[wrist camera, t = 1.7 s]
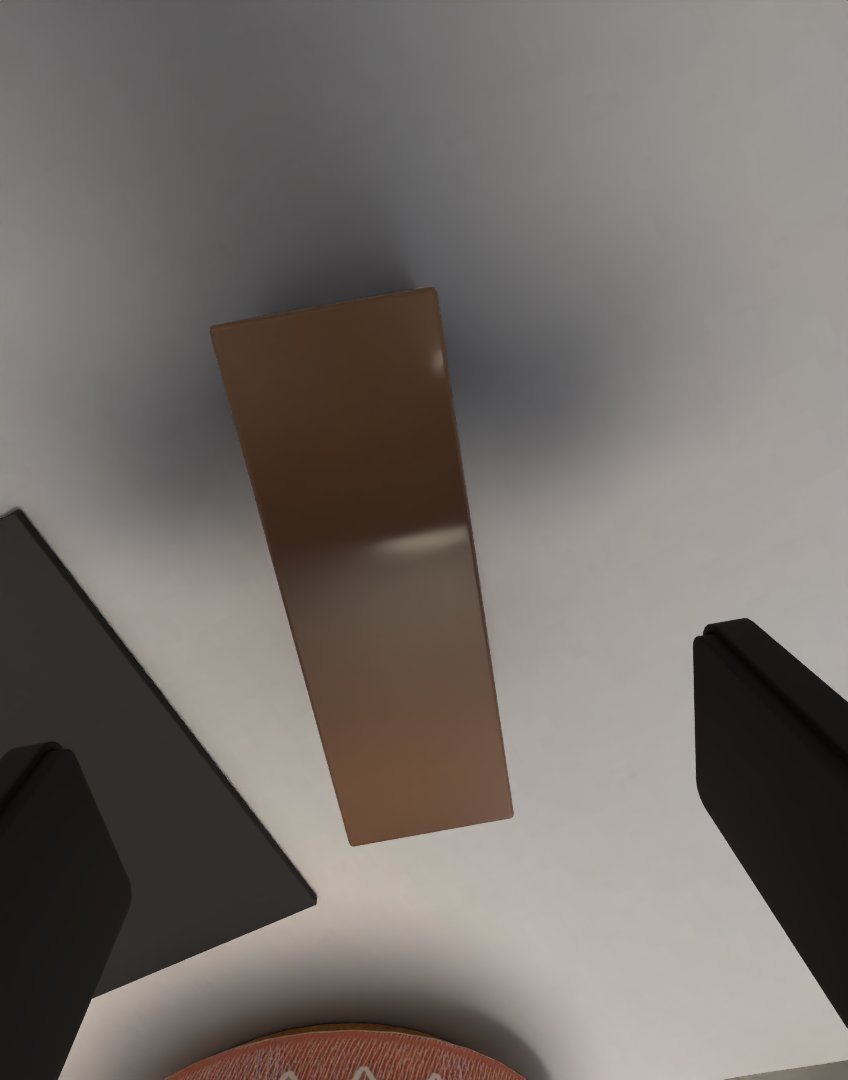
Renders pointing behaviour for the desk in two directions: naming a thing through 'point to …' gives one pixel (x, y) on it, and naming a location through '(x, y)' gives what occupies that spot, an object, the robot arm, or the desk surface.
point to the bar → (374, 554)
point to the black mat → (133, 771)
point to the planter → (348, 1057)
